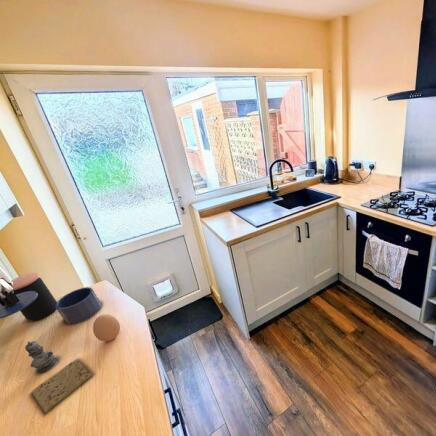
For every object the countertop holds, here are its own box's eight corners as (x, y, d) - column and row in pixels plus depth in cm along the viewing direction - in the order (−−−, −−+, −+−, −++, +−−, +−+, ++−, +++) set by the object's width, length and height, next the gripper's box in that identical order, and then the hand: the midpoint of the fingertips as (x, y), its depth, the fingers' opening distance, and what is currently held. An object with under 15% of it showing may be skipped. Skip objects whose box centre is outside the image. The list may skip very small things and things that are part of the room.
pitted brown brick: (31, 393, 76) (29, 391, 75) (77, 359, 85) (75, 358, 84) (44, 414, 70) (43, 412, 69) (92, 375, 79) (91, 373, 78)
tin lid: (-24, 319, 85) (-36, 306, 82) (23, 292, 97) (14, 279, 94) (2, 324, 81) (-10, 310, 79) (47, 295, 93) (38, 282, 90)
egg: (125, 337, 91) (113, 316, 87) (101, 350, 87) (87, 329, 83) (122, 325, 97) (111, 305, 92) (99, 337, 93) (86, 316, 88)
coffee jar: (54, 301, 116) (33, 270, 108) (63, 308, 110) (41, 276, 103) (24, 317, 108) (-1, 285, 100) (32, 325, 102) (6, 292, 95)
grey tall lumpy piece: (31, 372, 82) (10, 348, 77) (50, 356, 87) (32, 332, 82) (44, 375, 81) (23, 351, 76) (62, 358, 86) (44, 335, 81)
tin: (58, 322, 103) (47, 307, 99) (87, 300, 113) (78, 286, 110) (80, 326, 99) (70, 310, 96) (108, 303, 110) (99, 288, 107)
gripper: (-54, 267, 79) (-17, 309, 87) (-22, 270, 75) (13, 314, 83) (-22, 254, 86) (9, 294, 94) (8, 256, 82) (38, 298, 89)
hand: (11, 303), depth 88 cm, fingers closed on tin lid, 2 cm apart
